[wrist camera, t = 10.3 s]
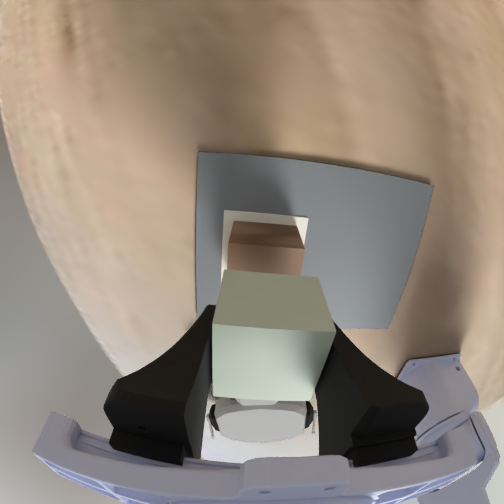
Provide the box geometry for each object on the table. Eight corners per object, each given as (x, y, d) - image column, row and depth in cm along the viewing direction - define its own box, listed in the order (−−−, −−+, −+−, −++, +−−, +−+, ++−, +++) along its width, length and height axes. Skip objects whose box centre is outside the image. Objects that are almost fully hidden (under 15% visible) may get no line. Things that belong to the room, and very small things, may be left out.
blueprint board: (431, 184, 19) (434, 186, 18) (386, 325, 25) (388, 329, 24) (199, 151, 18) (198, 152, 18) (198, 316, 24) (197, 319, 24)
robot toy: (191, 331, 27) (216, 418, 32) (181, 361, 22) (211, 446, 28) (319, 324, 26) (311, 415, 31) (327, 355, 22) (314, 442, 27)
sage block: (317, 277, 13) (336, 331, 10) (301, 344, 15) (309, 400, 12) (224, 269, 13) (212, 323, 10) (221, 339, 15) (212, 395, 12)
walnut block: (296, 225, 20) (305, 249, 16) (288, 279, 22) (293, 310, 18) (233, 220, 20) (228, 243, 16) (231, 275, 22) (225, 306, 18)
